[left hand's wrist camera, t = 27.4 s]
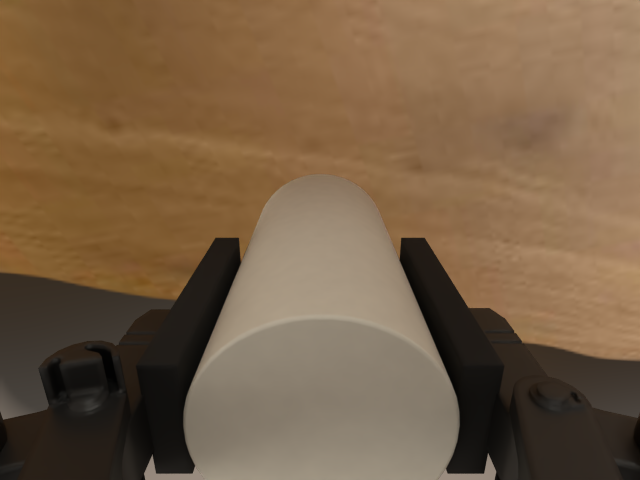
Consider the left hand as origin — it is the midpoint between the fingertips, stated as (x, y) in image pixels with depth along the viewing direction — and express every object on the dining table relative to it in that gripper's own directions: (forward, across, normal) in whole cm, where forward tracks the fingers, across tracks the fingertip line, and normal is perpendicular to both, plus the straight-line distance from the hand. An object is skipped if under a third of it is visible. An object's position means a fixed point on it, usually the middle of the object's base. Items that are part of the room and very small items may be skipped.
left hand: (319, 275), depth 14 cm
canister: (+4, 0, 0) cm, 4 cm away
